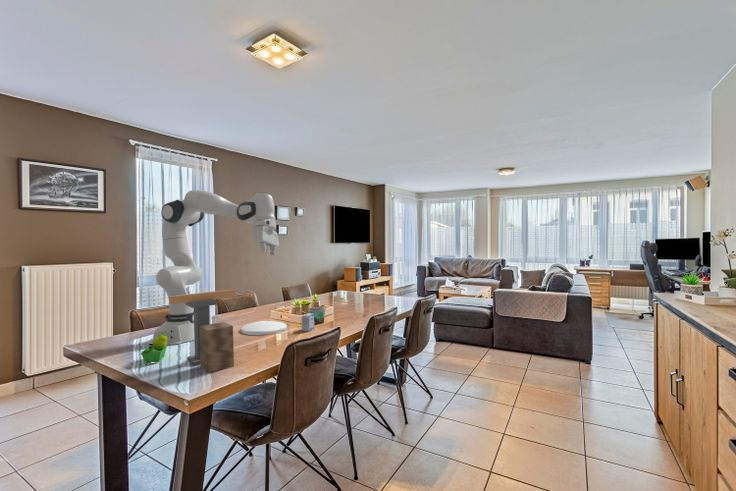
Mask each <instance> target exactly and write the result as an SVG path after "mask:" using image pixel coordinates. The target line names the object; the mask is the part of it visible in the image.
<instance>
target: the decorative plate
mask: <svg viewBox="0 0 736 491" xmlns="http://www.w3.org/2000/svg"><path fill="white" fill-rule="evenodd" d="M287 328H288V326H287V324H286V323H284V322H283V321H274V320H273V321H272V320H260V321H255V322H251V323H248V324H245V325H243V326H242V327H241V329H240V333H242V334H244V335H247V336H268V334H269V335H276V334H278V333H281V332H284V331H286V330H287Z"/></svg>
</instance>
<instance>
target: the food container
mask: <svg viewBox="0 0 736 491" xmlns="http://www.w3.org/2000/svg"><path fill="white" fill-rule="evenodd" d="M308 310H309V311H308V312H309V313H313V314H314V325H321V324H324V323H325V315H326V314H325V312H326V311H325V310H327V309H326V306H325V305H324V304H321V305H320V306H316V307H309V309H308Z"/></svg>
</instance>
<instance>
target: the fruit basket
mask: <svg viewBox="0 0 736 491" xmlns="http://www.w3.org/2000/svg"><path fill="white" fill-rule="evenodd" d="M167 348H168V345H167V336H166V334H161V335H160V336H159V337H157V338H156V339H155V340H154V341H153V345H148V346H147V347H146V348H145V349H144V350H142V352H140V355H141V356H142V359H143V362H144V364H145V363H151V362H159V361H160V360H161V361H162V360H163V358H164V357H165V354H166V351H167ZM159 363H160V362H159Z"/></svg>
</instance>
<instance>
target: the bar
mask: <svg viewBox="0 0 736 491" xmlns="http://www.w3.org/2000/svg"><path fill="white" fill-rule="evenodd" d="M234 297H236V290H235V289H223V290H213V291H204V292H196V293H195V292H193V293H188V294H185V295H175V296H169V299H168V305H169V304H178V303H186V302H195V301H203V300H211V299H216V300H217V299H219V300H220V299H225V298H234Z"/></svg>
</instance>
